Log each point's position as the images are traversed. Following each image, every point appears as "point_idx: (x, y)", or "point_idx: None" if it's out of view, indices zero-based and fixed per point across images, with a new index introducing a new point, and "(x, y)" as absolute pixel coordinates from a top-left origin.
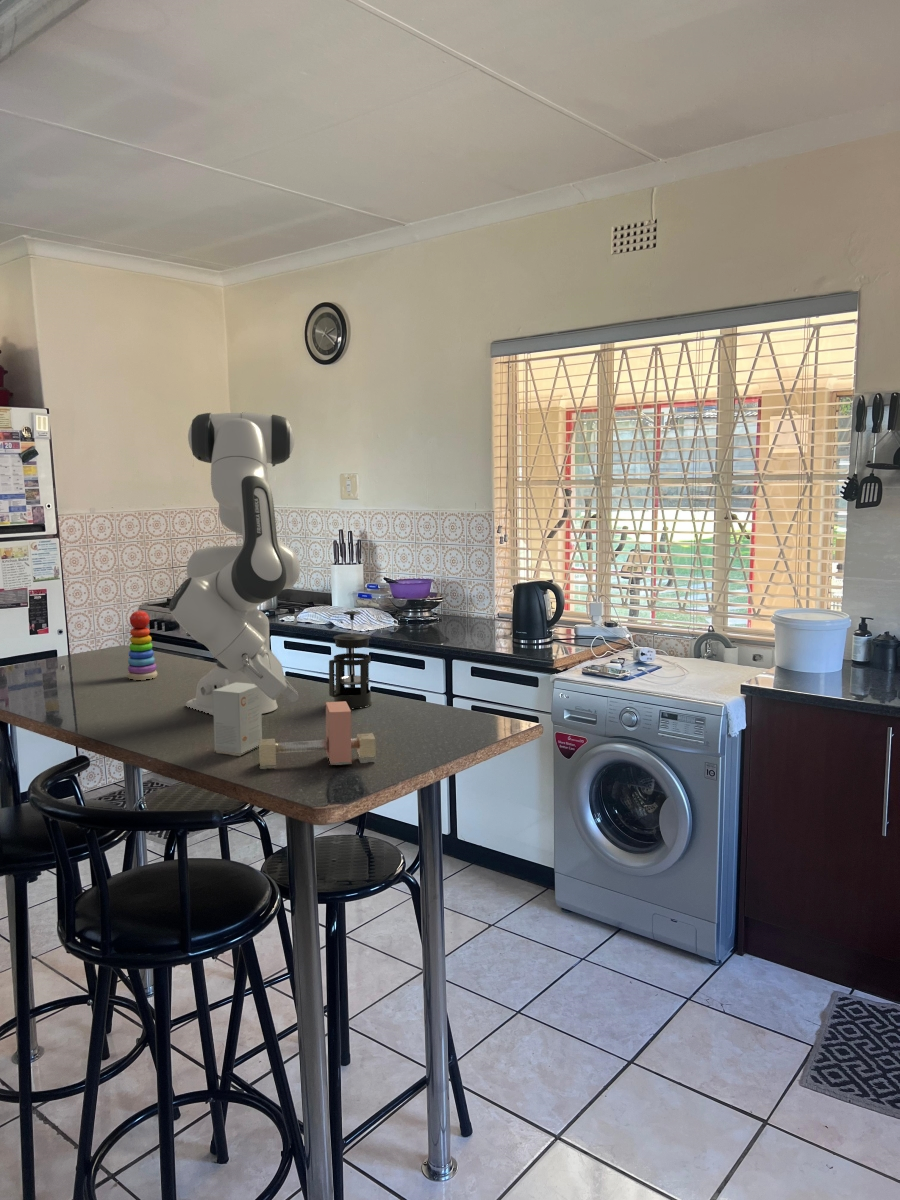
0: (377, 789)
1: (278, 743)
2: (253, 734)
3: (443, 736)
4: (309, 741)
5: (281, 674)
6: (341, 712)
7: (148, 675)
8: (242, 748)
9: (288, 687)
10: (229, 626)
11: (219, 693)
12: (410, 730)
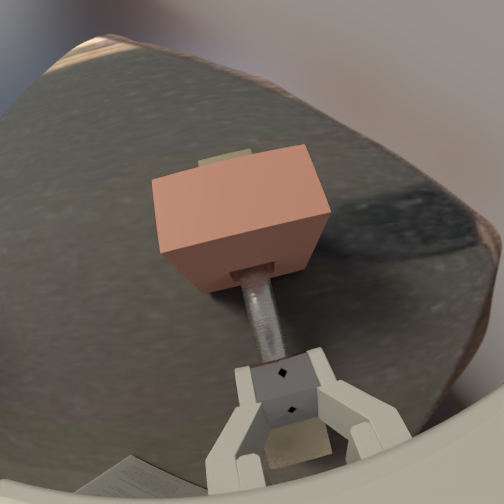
0: (407, 169)
1: None
2: (153, 485)
3: (100, 103)
4: (270, 321)
5: (452, 461)
6: (315, 174)
7: None
8: None
9: (378, 404)
10: None
11: None
12: (55, 155)
